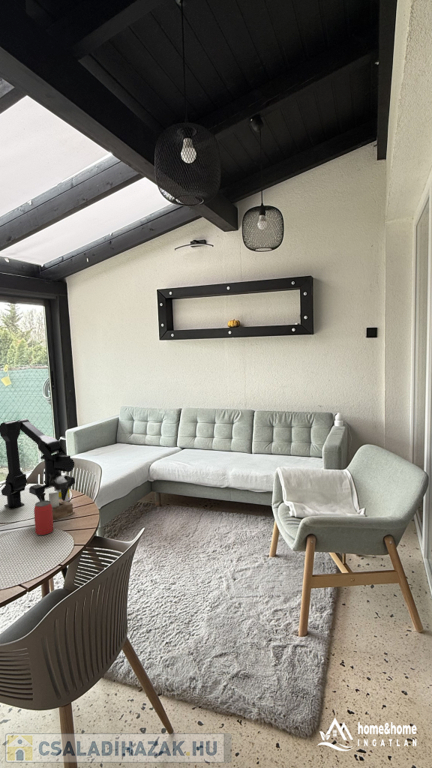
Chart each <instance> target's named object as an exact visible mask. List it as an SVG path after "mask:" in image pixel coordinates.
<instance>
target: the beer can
mask: <svg viewBox="0 0 432 768" xmlns="http://www.w3.org/2000/svg"><path fill="white" fill-rule="evenodd" d="M33 513H34V514H33V515H34V527H35V534H36V535H38V536H47V535H50V534H51V533H53V532H54V521H53V513H52V505H51V503H50V501H49V500H46V499H45V501H37V502H36V503H35V505H34V509H33Z"/></svg>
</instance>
